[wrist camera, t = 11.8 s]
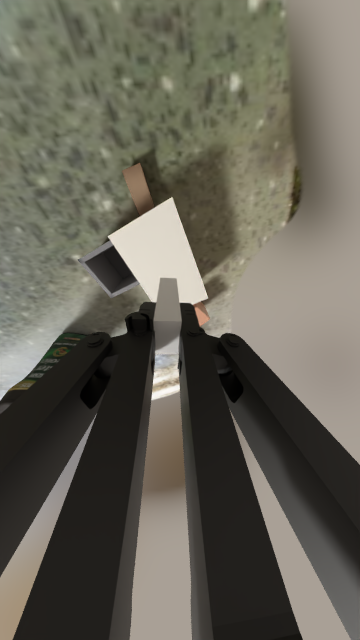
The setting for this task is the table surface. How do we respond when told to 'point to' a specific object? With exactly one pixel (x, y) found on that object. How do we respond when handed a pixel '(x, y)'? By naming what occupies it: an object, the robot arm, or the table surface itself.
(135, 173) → the rod
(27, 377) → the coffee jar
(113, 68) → the table surface
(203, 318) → the block
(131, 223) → the tunnel
